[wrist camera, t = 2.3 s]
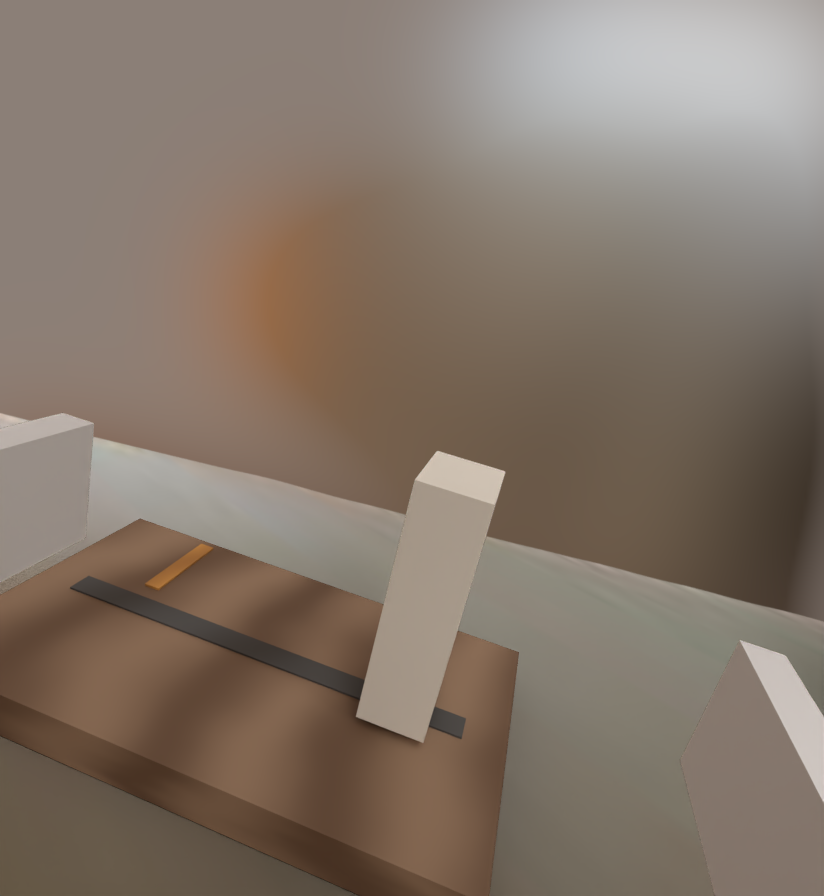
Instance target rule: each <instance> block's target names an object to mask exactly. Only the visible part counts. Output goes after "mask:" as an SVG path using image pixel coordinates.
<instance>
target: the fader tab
mask: <svg viewBox="0 0 824 896" xmlns="http://www.w3.org/2000/svg"><path fill="white" fill-rule="evenodd" d="M504 475H505V471H502V470H499V469H496V468H492V467H489V466H486V465H482V464H479V463H476V462H472V461H469V460H466V459H462V458H459V457H456V456H453V455H449V454H446V453H443V452H439V451H437V452H436V453H435V455H434V456H433V457H432V458H431V460H430V461H429V462H428V464H427V465H426V466H425V467H424V469H423V470H422V471H421V473H420V474H419V475H418V476H417V478H416V479H415V481H414V485H413V489H412V493H411V497H410V501H409V505H408V509H407V513H406V517H405V521H404V525H403V529H402V533H401V537H400V541H399V545H398V549H397V553H396V557H395V561H394V565H393V569H392V573H391V577H390V581H389V585H388V589H387V593H386V597H385V601H384V605H383V609H382V613H381V617H380V621H379V625H378V629H377V633H376V637H375V641H374V646H373V650H372V654H371V658H370V662H369V666H368V670H367V674H366V678H365V682H364V686H363V690H362V694H361V698H360V702H359V706H358V710H357V714H356V717H358V718H360V719H363V720H365V721H368V722H371V723H373V724H376V725H378V726H381V727H383V728H386V729H388V730H391V731H394V732H396V733H399V734H401V735H404V736H406V737H409V738H412V739H414V740H417V741H419V742H422V743H423V742H424V739H425V736H426V733H427V729H428V726H429V723H430V720H431V716H432V713H433V710H434V707H435V703H436V700H437V697H438V694H439V690H440V687H441V684H442V681H443V677H444V674H445V671H446V667H447V664H448V661H449V657H450V654H451V651H452V647H453V644H454V641H455V638H456V634H457V631H458V628H459V624H460V621H461V618H462V614H463V611H464V608H465V604H466V601H467V598H468V594H469V591H470V588H471V584H472V581H473V578H474V574H475V571H476V568H477V564H478V561H479V558H480V554H481V551H482V548H483V545H484V541H485V538H486V535H487V531H488V528H489V525H490V521H491V518H492V515H493V511H494V508H495V505H496V501H497V498H498V495H499V491H500V488H501V485H502V481H503V478H504Z"/></svg>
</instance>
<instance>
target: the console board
mask: <svg viewBox="0 0 824 896" xmlns="http://www.w3.org/2000/svg"><path fill="white" fill-rule="evenodd" d="M382 609H383V604H381V603H378V602H375V601H372V600H369V599H366V598H364V597H361V596H358V595H355V594H352V593H349V592H347V591H344V590H341V589H338V588H335V587H332V586H330V585H327V584H324V583H321V582H318V581H315V580H313V579H310V578H307V577H304V576H301V575H298V574H296V573H293V572H290V571H287V570H284V569H281V568H279V567H276V566H273V565H270V564H267V563H264V562H262V561H259V560H256V559H253V558H250V557H247V556H245V555H242V554H239V553H236V552H233V551H230V550H228V549H225V548H222V547H219V546H216V545H213V544H211V543H208V542H205V541H202V540H199V539H196V538H194V537H191V536H188V535H185V534H182V533H179V532H177V531H174V530H171V529H168V528H165V527H162V526H160V525H157V524H154V523H151V522H148V521H145V520H143V519H138V520H137V521H135V522H133V523H131V524H129V525H127V526H126V527H124V528H122V529H120V530H118V531H116V532H115V533H113V534H111V535H109V536H107V537H105V538H104V539H102V540H100V541H98V542H96V543H94V544H93V545H91V546H89V547H87V548H85V549H84V550H82V551H80V552H78V553H76V554H74V555H73V556H71V557H69V558H67V559H65V560H63V561H62V562H60V563H58V564H56V565H54V566H52V567H51V568H49V569H47V570H45V571H43V572H41V573H40V574H38V575H36V576H34V577H32V578H30V579H29V580H27V581H25V582H23V583H21V584H19V585H18V586H16V587H14V588H12V589H10V590H9V591H7V592H5V593H3V594H1V595H0V736H2V737H4V738H7V739H9V740H11V741H13V742H16V743H18V744H20V745H22V746H25V747H27V748H29V749H31V750H34V751H36V752H38V753H40V754H43V755H45V756H47V757H49V758H52V759H54V760H56V761H58V762H61V763H63V764H65V765H67V766H70V767H72V768H74V769H76V770H79V771H81V772H83V773H85V774H88V775H90V776H92V777H94V778H97V779H99V780H101V781H103V782H106V783H108V784H110V785H112V786H115V787H117V788H119V789H121V790H124V791H126V792H128V793H130V794H133V795H135V796H137V797H139V798H142V799H144V800H146V801H148V802H150V803H153V804H155V805H157V806H159V807H162V808H164V809H166V810H168V811H171V812H173V813H175V814H177V815H180V816H182V817H184V818H186V819H189V820H191V821H193V822H195V823H198V824H200V825H202V826H204V827H207V828H209V829H211V830H213V831H216V832H218V833H220V834H222V835H225V836H227V837H229V838H231V839H234V840H236V841H238V842H240V843H243V844H245V845H247V846H249V847H252V848H254V849H256V850H258V851H261V852H263V853H265V854H267V855H270V856H272V857H274V858H276V859H279V860H281V861H283V862H285V863H288V864H290V865H292V866H294V867H297V868H299V869H301V870H303V871H306V872H308V873H310V874H312V875H315V876H317V877H319V878H321V879H324V880H326V881H328V882H330V883H333V884H335V885H337V886H339V887H342V888H344V889H346V890H348V891H351V892H353V893H355V894H357V895H360V896H489V893H490V885H491V877H492V868H493V860H494V852H495V844H496V836H497V828H498V819H499V811H500V803H501V795H502V787H503V779H504V770H505V762H506V754H507V746H508V738H509V730H510V721H511V713H512V705H513V697H514V689H515V681H516V672H517V664H518V656H519V652H517V651H514V650H511V649H508V648H505V647H502V646H500V645H497V644H494V643H491V642H488V641H485V640H483V639H480V638H477V637H474V636H471V635H468V634H466V633H463V632H460V631H457V634H456V638H455V641H454V644H453V647H452V651H451V654H450V657H449V661H448V664H447V667H446V671H445V674H444V677H443V681H442V684H441V687H440V690H439V694H438V697H437V700H436V703H435V707H434V710H433V713H432V716H431V720H430V723H429V726H428V729H427V733H426V736H425V739H424V742H423V743H422V742H419V741H417V740H414V739H412V738H409V737H406V736H404V735H401V734H399V733H396V732H394V731H391V730H388V729H386V728H383V727H381V726H378V725H376V724H373V723H371V722H368V721H365V720H363V719H360V718H358V717H356V714H357V710H358V706H359V702H360V698H361V694H362V690H363V686H364V682H365V678H366V674H367V670H368V666H369V662H370V658H371V654H372V650H373V646H374V641H375V637H376V633H377V629H378V625H379V621H380V617H381V613H382Z"/></svg>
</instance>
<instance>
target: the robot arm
mask: <svg viewBox="0 0 824 896" xmlns="http://www.w3.org/2000/svg"><path fill="white" fill-rule="evenodd" d="M93 430H94V423H91V422H89V421H86V420H83V419H80V418H77V417H74V416H71V415H67V414H65V413H61V414H57V415H53V416H49V417H45V418H40V419H37V420H32V421H28V422H24V423H20V424H16V425H12V426H7V427H3V428H0V582H2V581H4V580H6V579H8V578H10V577H12V576H14V575H16V574H18V573H20V572H22V571H23V570H25V569H27V568H29V567H31V566H33V565H35V564H37V563H39V562H41V561H43V560H45V559H47V558H49V557H50V556H52V555H54V554H56V553H58V552H60V551H62V550H64V549H66V548H68V547H70V546H72V545H74V544H76V543H77V542H79V541H81V540H83V539H85V538H86V526H87V512H88V498H89V485H90V471H91V458H92V444H93ZM680 762H681V766H682V770H683V774H684V778H685V782H686V786H687V790H688V794H689V798H690V801H691V805H692V809H693V813H694V817H695V821H696V825H697V829H698V833H699V837H700V840H701V844H702V848H703V852H704V856H705V860H706V864H707V868H708V872H709V876H710V879H711V883H712V887H713V891H714V895H715V896H824V716H823V715H822V713H821V712H820V710H819V708H818V707H817V705H816V703H815V702H814V700H813V699H812V697H811V695H810V694H809V692H808V691H807V689H806V687H805V686H804V684H803V683H802V681H801V679H800V678H799V676H798V674H797V673H796V671H795V670H794V668H793V666H792V665H791V663H790V662H789V660H788V658H787V657H786V655H783V654H780V653H777V652H774V651H771V650H768V649H765V648H762V647H759V646H756V645H753V644H750V643H747V642H744V641H741V640H739V642H738V644H737V646H736V648H735V650H734V652H733V654H732V656H731V658H730V660H729V663H728V665H727V667H726V669H725V671H724V673H723V675H722V677H721V679H720V681H719V683H718V685H717V687H716V689H715V691H714V693H713V695H712V697H711V699H710V701H709V703H708V705H707V707H706V709H705V711H704V713H703V715H702V717H701V719H700V721H699V723H698V725H697V727H696V729H695V731H694V733H693V735H692V737H691V739H690V741H689V743H688V745H687V747H686V749H685V751H684V753H683V755H682V757H681V759H680Z"/></svg>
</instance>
